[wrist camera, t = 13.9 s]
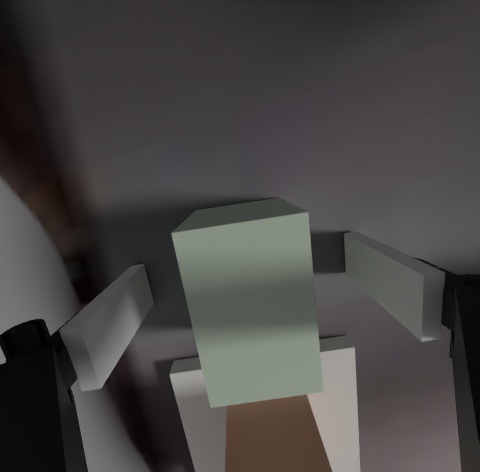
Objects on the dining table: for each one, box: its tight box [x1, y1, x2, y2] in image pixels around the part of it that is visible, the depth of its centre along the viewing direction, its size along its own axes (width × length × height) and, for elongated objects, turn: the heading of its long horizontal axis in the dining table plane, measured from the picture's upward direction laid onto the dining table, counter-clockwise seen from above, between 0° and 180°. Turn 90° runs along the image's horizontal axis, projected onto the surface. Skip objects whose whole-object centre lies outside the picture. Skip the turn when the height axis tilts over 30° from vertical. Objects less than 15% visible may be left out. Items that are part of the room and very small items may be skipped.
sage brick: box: [171, 198, 323, 408], centre depth 13 cm, size 8×5×6 cm, turn 9°
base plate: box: [169, 336, 360, 472], centre depth 18 cm, size 12×12×1 cm
